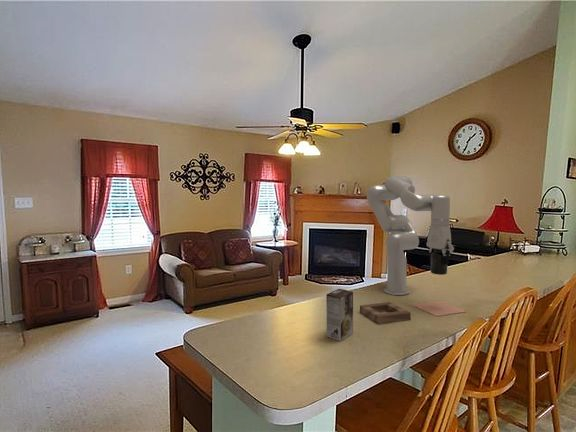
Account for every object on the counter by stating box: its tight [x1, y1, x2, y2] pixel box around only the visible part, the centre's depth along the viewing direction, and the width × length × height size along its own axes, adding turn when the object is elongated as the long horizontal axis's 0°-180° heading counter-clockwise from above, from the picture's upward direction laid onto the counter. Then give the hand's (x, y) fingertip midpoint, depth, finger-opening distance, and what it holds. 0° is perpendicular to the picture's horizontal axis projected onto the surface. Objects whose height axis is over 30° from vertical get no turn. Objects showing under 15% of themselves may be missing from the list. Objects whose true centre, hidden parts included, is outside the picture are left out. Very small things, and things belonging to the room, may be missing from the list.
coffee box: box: [326, 288, 354, 342], centre depth 129 cm, size 9×6×16 cm
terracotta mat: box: [411, 300, 467, 317], centre depth 158 cm, size 16×16×1 cm
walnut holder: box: [359, 301, 412, 325], centre depth 149 cm, size 15×15×3 cm
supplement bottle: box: [430, 248, 448, 276], centre depth 156 cm, size 7×7×12 cm
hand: (439, 262), depth 156 cm, fingers closed on supplement bottle, 6 cm apart
